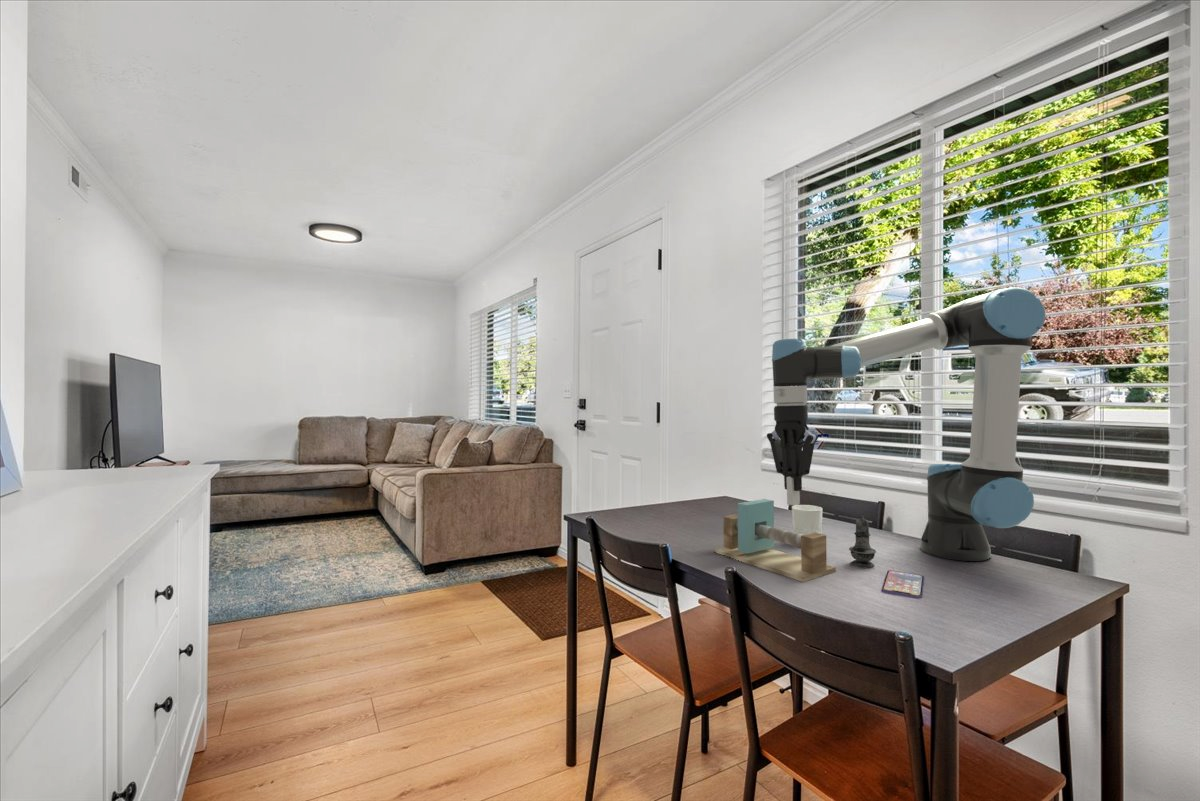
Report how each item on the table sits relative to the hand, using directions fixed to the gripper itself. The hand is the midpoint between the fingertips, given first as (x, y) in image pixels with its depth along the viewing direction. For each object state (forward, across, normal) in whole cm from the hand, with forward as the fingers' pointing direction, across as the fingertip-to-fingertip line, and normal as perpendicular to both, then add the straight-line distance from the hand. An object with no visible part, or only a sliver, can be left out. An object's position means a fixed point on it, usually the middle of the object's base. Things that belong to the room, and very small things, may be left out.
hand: (793, 504), depth 129 cm
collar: (+13, -11, -1) cm, 17 cm away
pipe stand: (+15, -6, -1) cm, 16 cm away
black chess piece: (+16, +8, +15) cm, 23 cm away
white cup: (+16, -12, +20) cm, 28 cm away
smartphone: (+16, +20, +9) cm, 28 cm away
